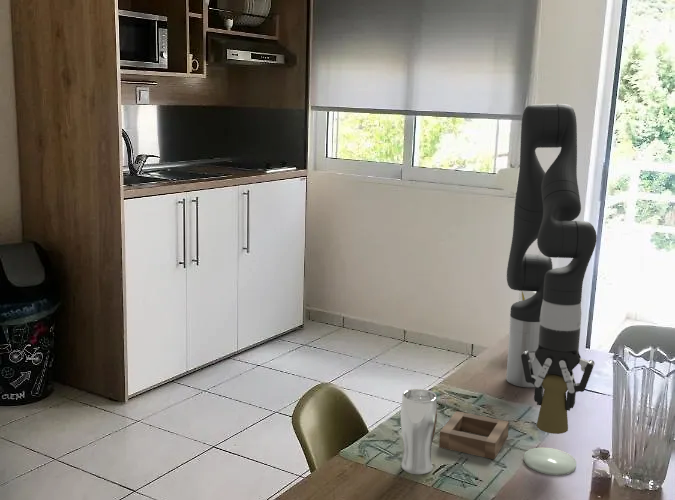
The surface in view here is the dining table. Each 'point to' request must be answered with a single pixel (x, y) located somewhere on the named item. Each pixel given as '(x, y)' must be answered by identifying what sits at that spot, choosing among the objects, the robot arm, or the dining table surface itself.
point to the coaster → (549, 461)
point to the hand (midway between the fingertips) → (553, 406)
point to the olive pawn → (553, 405)
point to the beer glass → (418, 429)
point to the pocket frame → (470, 442)
